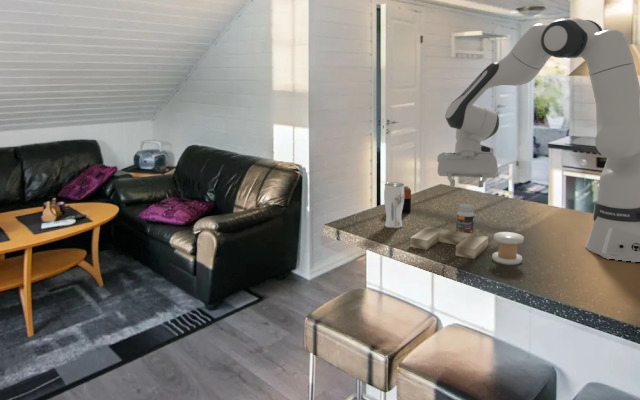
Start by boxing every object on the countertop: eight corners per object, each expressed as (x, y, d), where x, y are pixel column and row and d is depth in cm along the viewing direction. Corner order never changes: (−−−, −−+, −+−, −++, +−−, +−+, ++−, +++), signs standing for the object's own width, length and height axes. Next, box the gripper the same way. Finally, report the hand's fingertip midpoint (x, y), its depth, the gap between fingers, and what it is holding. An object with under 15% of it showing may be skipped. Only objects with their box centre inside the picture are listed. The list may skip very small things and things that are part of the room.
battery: (391, 210, 197) (391, 185, 195) (408, 210, 197) (409, 185, 195) (392, 213, 193) (393, 187, 191) (410, 213, 193) (411, 187, 191)
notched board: (487, 246, 156) (488, 236, 155) (474, 259, 146) (474, 249, 145) (427, 235, 167) (427, 226, 166) (410, 246, 157) (410, 237, 156)
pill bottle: (455, 236, 165) (457, 207, 163) (455, 231, 171) (456, 202, 168) (473, 237, 164) (475, 207, 162) (473, 232, 169) (474, 203, 167)
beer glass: (401, 222, 181) (402, 181, 177) (405, 228, 174) (406, 186, 171) (382, 223, 181) (382, 182, 177) (385, 229, 174) (385, 186, 170)
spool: (525, 257, 146) (527, 234, 144) (517, 266, 139) (519, 242, 138) (496, 252, 150) (498, 230, 148) (488, 261, 144) (490, 237, 142)
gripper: (437, 147, 181) (435, 179, 174) (498, 148, 176) (498, 182, 169) (437, 157, 186) (435, 189, 180) (496, 159, 181) (496, 191, 174)
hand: (466, 185), depth 174 cm, fingers open, 8 cm apart
